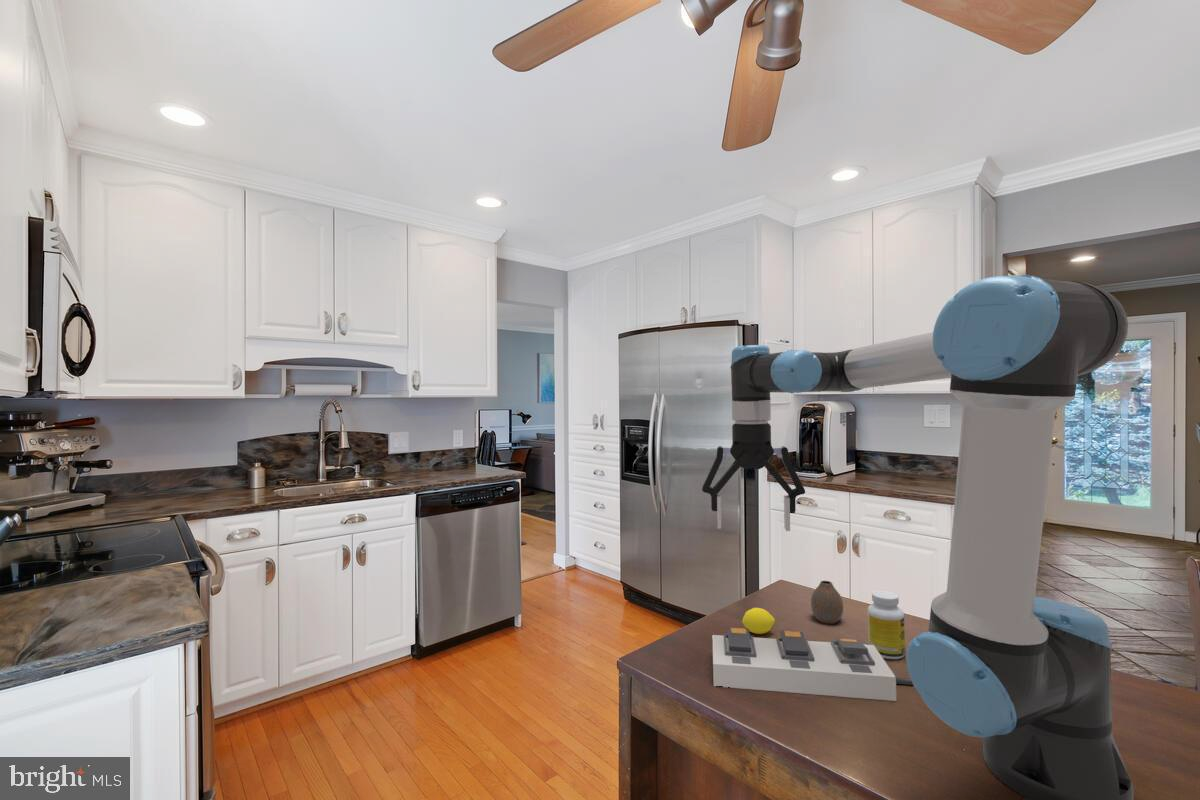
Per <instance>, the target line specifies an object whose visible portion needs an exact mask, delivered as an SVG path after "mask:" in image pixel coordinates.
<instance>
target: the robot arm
mask: <svg viewBox="0 0 1200 800" xmlns="http://www.w3.org/2000/svg"><path fill="white" fill-rule="evenodd" d="M1128 330H1129V319H1128V316H1127V313H1126V311H1125V309H1124V307H1123V305H1122V304H1121V302H1120V301H1119V300H1118V299H1117V298H1116V297H1115V296H1114V295H1112V294H1111V293H1110V292H1108V291H1107V290H1105V289H1103V288H1101V287H1098V286H1096V285H1093V284H1090V283H1085V282H1080V281H1068V280H1066V281H1065V280H1058V279H1051V278H1045V277H1037V276H1034V275H1029V274H1025V275H1024V274H1023V275H1015V274H1013V275H998V276H990V277H984V278H981V279H979V280H976V281H974V282H972V283H969V284H968V285H967V286H964V287H962V288H961V289H960V290H958V292H957V293H955V295H954V296H952V297H951V298H950V299H948V301H946V304H944V306H943V307H942V308H941V310H940V312H939V314H938V316H937V318H936V320H935V324H934V327H933V331H932V332H929V333H928V332H927V333H923V334H919V335H914V336H909V337H903V338H898V339H895V340H891V341H886V342H881V343H876V344H871V345H866V346H861V347H857V348H853V349H847V350H842V351H837V352H836V351H835V352H817V351H815V352H813V351H809V350H806V349H805V350H804V349H795V350H794V349H789V350H786V351H779V352H774V353H773V352H772V353H771V351H770V347H769V346H768V345H765V344H748V345H738V346H735V347H734V348H733V349H732V351H731V364H730V367H729V368H730V375H731V376H730V378H731V380H730V381H731V420H732V421H733V422H734V423H733V424H732V426H731V429H732V433H731V434H732V435H731V437H732V444H731V447H723V446H722V445H719V446H717V447H716V457H715V459H714V461H713V463H712V466H711V468H710V470H709V472H708V474H707V477H706V478H705V481H704V482H703V485H702V488H701V491H702V493H704V494H705V493H707V494H708V495H710V497H711V498H710V499H711V500H710V501H711V504H710V505H711V507H710V508H711V511H712V512H716V514H717V517H716V518H717V524H716V525H717V529H722V494H720V491H721V490H722V489H723V488H724V486H725V485H726V484H727V483H728V482H729V480H730V479H731V478H732V477H733V476H734V475H735V474H736V472H737V471H738V470H739V469H740V468H742V469H743V470H744V469H745V470H750V469H755V470H761V469H763V468H765V469H766V470H767V472H769V473H770V475H771V476H772V477H773V478H774V480H776V482H777V483H778V484H779V485H780V487H781V488H782V489H783V490H784V491H785V492H786V493H787V495H783V517H784V518H783V519H784V520H783V522H784V524H783V525H784V529H785V531H786V532H791V514H796V511H797V510H796V498H797V497H798V496H800V495H804V494H806V490H805V488H804V486H803V484H802V482H801V480H800V477H799V476H798V474H797V471H796V469H795V467H794V465H793V464H792V462H791V460H790V456H789V450H788V447H786V446H785V445H783V446H781V447H773V445H772V425H770V423H769V422H770V421H771V420H772V414H771V405H772V404H771V393H779V394H780V393H788V394H795V393H797V394H801V393H821V392H828V393H829V392H832V393H833V392H836V393H837V392H840V393H853V392H855V391H856V392H857V391H862V390H863V389H868V388H876V387H883V386H885V387H886V386H893V385H903V384H910V383H919V382H926V381H935V380H944V379H950V384H949V393H950V394H951V395H953V396H954V398H956V399H957V400H958V401H959V403H960V404H961V406H962V416H961V425H960V438H959V450H958V462H957V470H956V483H955V492H954V493H955V496H954V506H953V515H952V526H951V527H952V529H951V540H950V548H949V549H950V552H949V561H948V562H949V565H948V574H947V584H946V585H947V586H946V591H945V592H943V593H941V594H940V595H937V596H936V597H934V598H933V599H932V600H931V604H930V613H929V616H930V617H929V622H928V623H929V624H928V625H929V626H928V631H923V632H921V633H919V634H918V635H916V636H915V637H914V638H913V639H911V640H910V642H909V644H908V645H907V648H906V652H905V655H906V656H905V658H906V659H905V661H906V667H907V671H908V675H909V678H910V679H911V680H912V683H913V685H912V686H913V687H914V689H915V690H916V691H917V693H919V695H920V697H921V699H922V701H923V703H924V704H925V705H926V706H927V707H928V708H929V710H930V711H931V712H933V714H934V715H935V716H936V717H937V718H938V719H939V720H941V721H942V722H943V723H945V724H946V725H947V726H948V727H950V728H952V729H954V731H957V732H959V733H962V734H964V735H966V736H970V737H974V738H983V739H982V749H983V751H982V752H983V753H982V754H983V755H982V756H983V757H982V758H983V762H985V764H986V766H987V768H988V770H990V772H991V773H992V774H993V776H995V777H996V778H997V779H998V780H999V781H1000V782H1002V783H1003V784H1004V785H1006V786H1007V787H1008V788H1010V789H1012V790H1013V791H1014V792H1016V793H1018V794H1020V795H1021V796H1023V797H1024V798H1026V799H1028V800H1134V799H1135V796H1134V794H1135V793H1134V786H1133V782H1132V779H1131V778H1130V774H1129V773H1128V770H1127V768H1126V764H1125V763H1124V761H1123V758H1122V755H1121V753H1120V751H1119V749H1118V745H1117V744H1116V741H1115V738H1114V737H1113V736H1114V735H1113V724H1112V723H1113V722H1112V721H1113V719H1112V717H1113V716H1112V712H1113V711H1112V709H1113V708H1112V667H1111V666H1112V665H1111V664H1112V661H1111V651H1112V650H1113V647H1112V644H1111V642H1110V641H1111V640H1110V634H1109V627H1108V625H1107V623H1106V622H1105V620H1104V619H1103V618H1101V616H1100V615H1097V614H1096V613H1094V612H1091V611H1090V610H1087V609H1085V608H1081V607H1079V606H1076V605H1073V604H1070V603H1066V602H1062V601H1058V600H1056V599H1055V600H1054V599H1051V598H1046V597H1041V596H1036V593H1037V592H1036V590H1037V582H1038V572H1039V565H1040V553H1041V544H1042V537H1043V536H1042V535H1043V528H1044V517H1045V508H1046V499H1047V491H1048V490H1047V489H1048V480H1049V472H1050V461H1051V453H1052V444H1053V435H1054V425H1055V415H1056V413H1057V412H1058V410H1060V409H1061V408H1062V407H1064V406H1066V405H1067V404H1069V403H1071V402H1072V401H1074V400H1075V398H1076V391H1077V390H1076V389H1077V382H1078V377H1079V376H1083V375H1086V374H1089V373H1092V372H1095V371H1096V370H1098V369H1100V368H1101V367H1104V366H1106V364H1108V363H1109V362H1111V361H1112V359H1114V358H1115V357H1116V355H1117V354H1118V353H1119V352H1120V351H1121V349H1122V348H1123V345H1124V344H1125V342H1126V339H1127V337H1128ZM728 454H730V455H731V456H732V458H733V459H734V461H733V462H732V463H731V465H730V466H729V468H728V469H727V470H726V471H725V472H724V474H723V475H722V476H720V477H721V478H720V479H719V480H718V481H717V482H716V484H715V485H714V486H713V487H711V485H712V483H713V481H714V479H715V477H716V475H717V473H718V470H719V469H720V465H721V464H722V461H723V459H725V458H727V456H728ZM774 454H775V455H776V456H777V458H778V459H781V461H782V463H783V465H784V467H785V469H786V471H787V473H788V475H789V477H790V479H791V481H792V484H793V485H794V487H795V488H792V487H791V486H790V485H789V484H788V482H786V480H785V479H784V478H783V476H781V475H780V473H779V471H778V470H776V469H775V468H774V466H773V465H772V464H771V463H770V462H769V461H770V460H771V458H772V457H773V455H774Z"/></svg>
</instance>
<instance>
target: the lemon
mask: <svg viewBox="0 0 1200 800" xmlns="http://www.w3.org/2000/svg"><path fill="white" fill-rule="evenodd" d="M741 622H742V624H743V626H744V628H748V629H749V633H750V632H751V633H752V634H756V635H763V634H766V633H769V631H770V630H771V629H772V627H773V626H774V624H775V622H776V619H775V618H774V617H773V615H771V614H770V612H769V611H768V610H765V609H764V608H760V607H752V608H751V609H748V610H747V611H745V613H744V615H743V617H742V620H741Z"/></svg>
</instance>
